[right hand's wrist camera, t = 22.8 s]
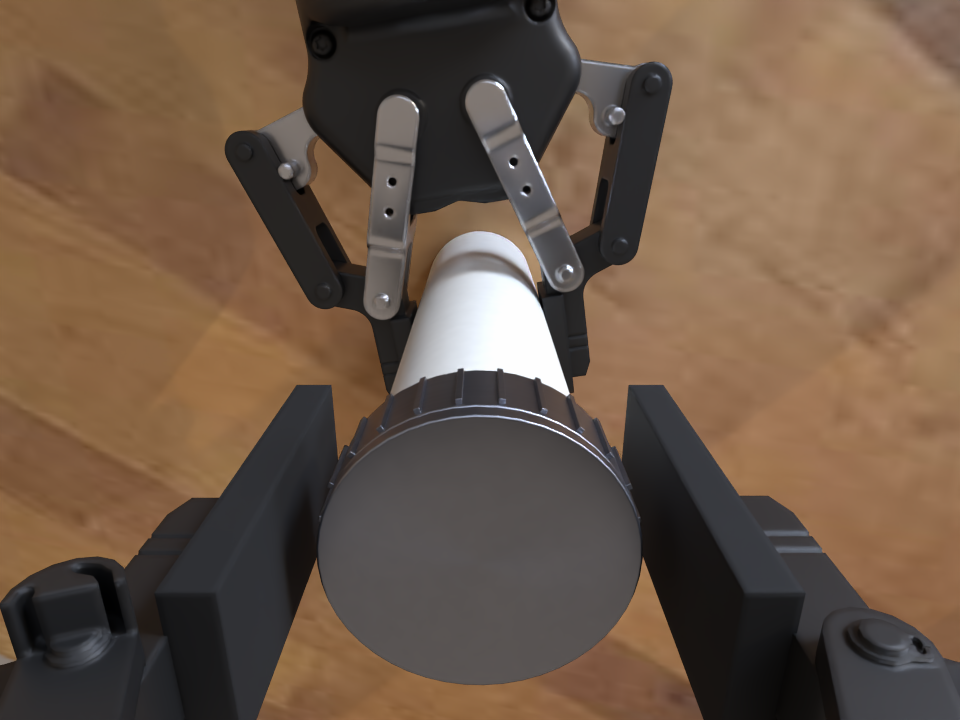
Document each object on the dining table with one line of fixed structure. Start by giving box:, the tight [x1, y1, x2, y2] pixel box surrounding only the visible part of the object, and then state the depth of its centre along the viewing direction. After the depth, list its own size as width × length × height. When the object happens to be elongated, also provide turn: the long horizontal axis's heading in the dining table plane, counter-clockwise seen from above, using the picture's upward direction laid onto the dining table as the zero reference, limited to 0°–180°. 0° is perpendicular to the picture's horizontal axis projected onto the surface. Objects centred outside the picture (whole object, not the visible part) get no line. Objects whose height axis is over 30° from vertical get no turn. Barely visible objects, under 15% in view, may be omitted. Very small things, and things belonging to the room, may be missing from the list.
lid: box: [316, 368, 643, 685], centre depth 11 cm, size 6×6×2 cm
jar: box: [391, 231, 570, 396], centre depth 20 cm, size 4×4×18 cm
